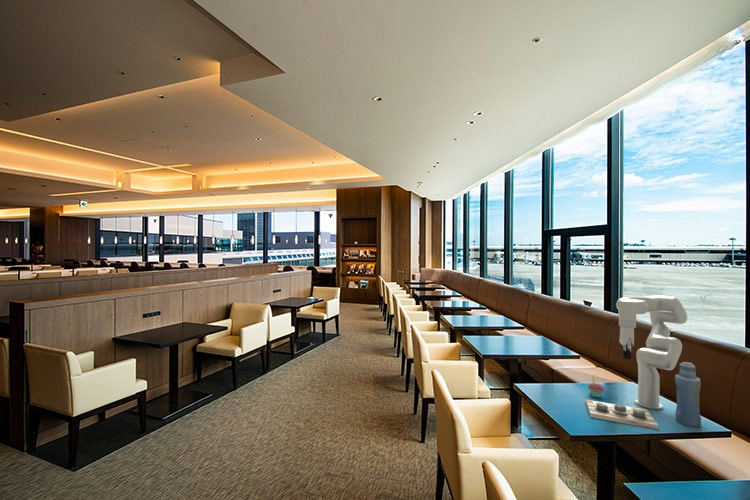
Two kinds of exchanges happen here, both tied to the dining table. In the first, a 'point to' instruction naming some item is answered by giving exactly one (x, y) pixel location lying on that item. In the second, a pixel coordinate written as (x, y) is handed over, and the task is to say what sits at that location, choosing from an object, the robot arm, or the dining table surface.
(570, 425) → the dining table surface
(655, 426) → the button board
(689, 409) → the bottle
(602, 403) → the pattern card
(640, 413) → the button near bottle
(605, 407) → the button far
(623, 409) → the button middle
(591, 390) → the cupcake
